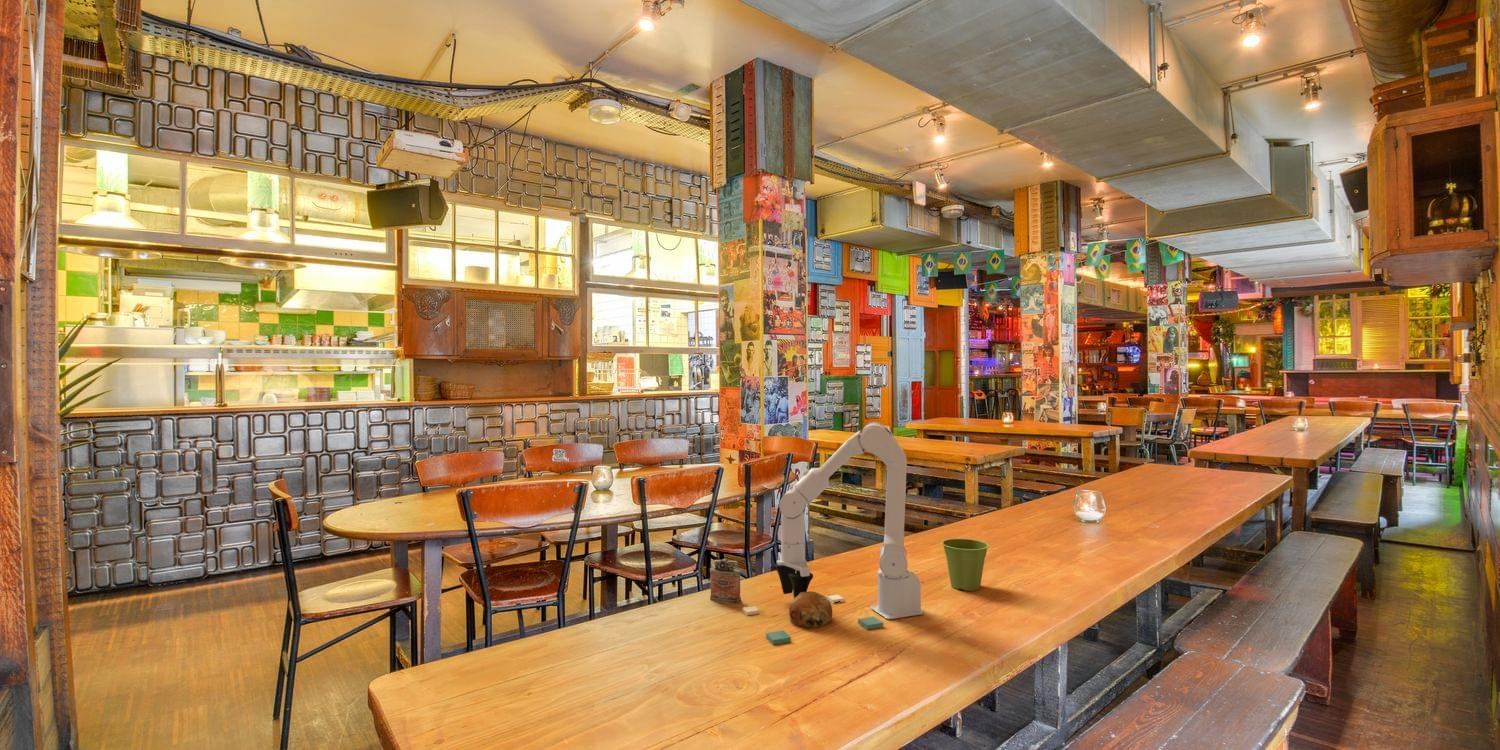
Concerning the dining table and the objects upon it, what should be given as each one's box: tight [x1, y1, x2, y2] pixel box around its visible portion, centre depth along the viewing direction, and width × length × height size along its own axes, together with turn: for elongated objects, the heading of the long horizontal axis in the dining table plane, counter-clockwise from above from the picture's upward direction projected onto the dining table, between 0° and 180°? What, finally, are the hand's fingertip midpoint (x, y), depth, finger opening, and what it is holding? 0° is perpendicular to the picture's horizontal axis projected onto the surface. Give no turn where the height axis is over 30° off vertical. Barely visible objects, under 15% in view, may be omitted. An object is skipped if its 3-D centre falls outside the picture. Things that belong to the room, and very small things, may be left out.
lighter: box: [709, 558, 742, 604], centre depth 165 cm, size 8×3×10 cm, turn 68°
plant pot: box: [941, 537, 990, 592], centre depth 174 cm, size 12×12×11 cm
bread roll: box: [788, 590, 833, 628], centre depth 152 cm, size 10×10×8 cm
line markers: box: [742, 594, 884, 646], centre depth 152 cm, size 26×20×1 cm
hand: (793, 598), depth 161 cm, fingers open, 7 cm apart
